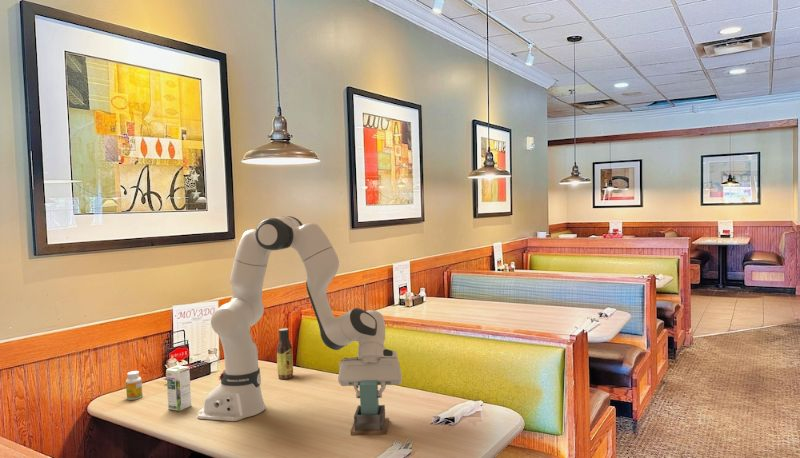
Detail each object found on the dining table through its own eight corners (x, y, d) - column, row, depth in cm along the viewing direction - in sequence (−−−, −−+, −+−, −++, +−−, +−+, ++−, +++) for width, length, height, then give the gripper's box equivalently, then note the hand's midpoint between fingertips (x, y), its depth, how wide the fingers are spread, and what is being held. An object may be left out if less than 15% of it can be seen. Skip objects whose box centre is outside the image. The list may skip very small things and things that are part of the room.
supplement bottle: (123, 399, 207) (121, 374, 206) (135, 394, 212) (133, 369, 211) (134, 400, 205) (132, 375, 204) (145, 395, 210) (144, 370, 209)
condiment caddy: (350, 434, 167) (349, 417, 166) (355, 421, 177) (354, 404, 176) (386, 434, 166) (385, 416, 166) (389, 420, 176) (388, 404, 176)
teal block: (361, 423, 169) (359, 384, 168) (363, 416, 174) (361, 379, 173) (377, 422, 169) (375, 384, 168) (379, 416, 174) (377, 379, 173)
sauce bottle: (289, 380, 221) (287, 331, 220) (275, 379, 222) (272, 331, 221) (296, 374, 227) (293, 327, 226) (282, 374, 229) (279, 327, 228)
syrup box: (167, 409, 195) (164, 369, 194) (180, 403, 200) (178, 364, 199) (179, 411, 192) (176, 371, 191) (192, 405, 197) (189, 366, 197)
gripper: (338, 353, 178) (334, 393, 169) (400, 351, 176) (400, 391, 167) (341, 362, 182) (337, 402, 173) (402, 360, 181) (402, 400, 172)
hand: (369, 397), depth 170 cm, fingers closed on teal block, 5 cm apart
